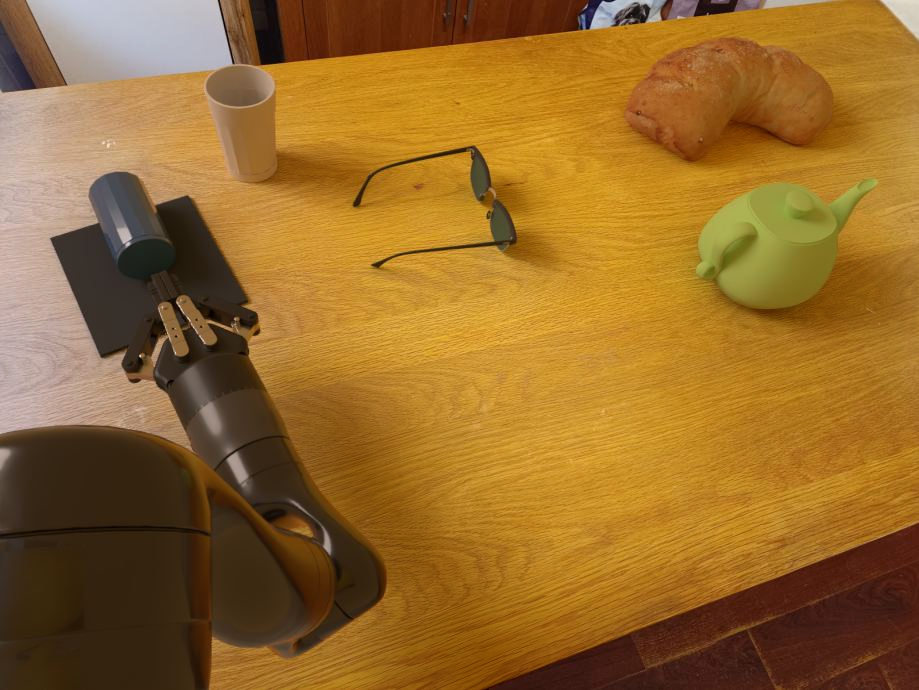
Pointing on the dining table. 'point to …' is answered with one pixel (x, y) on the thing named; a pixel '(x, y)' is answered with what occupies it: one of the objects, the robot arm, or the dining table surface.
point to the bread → (728, 95)
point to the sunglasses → (481, 185)
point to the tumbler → (131, 225)
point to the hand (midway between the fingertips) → (159, 278)
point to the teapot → (775, 243)
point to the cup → (244, 119)
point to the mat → (125, 299)
